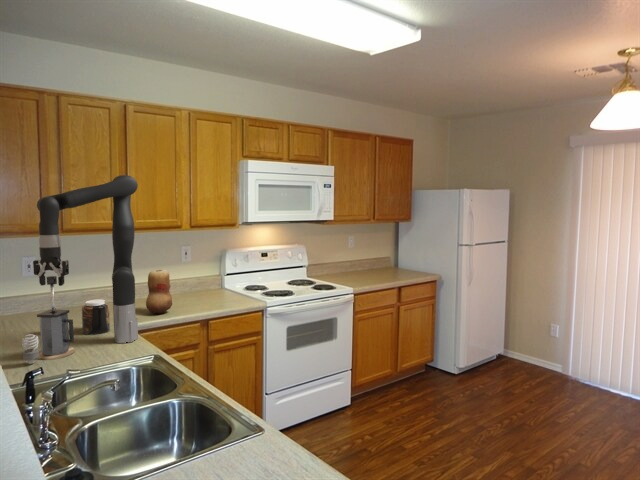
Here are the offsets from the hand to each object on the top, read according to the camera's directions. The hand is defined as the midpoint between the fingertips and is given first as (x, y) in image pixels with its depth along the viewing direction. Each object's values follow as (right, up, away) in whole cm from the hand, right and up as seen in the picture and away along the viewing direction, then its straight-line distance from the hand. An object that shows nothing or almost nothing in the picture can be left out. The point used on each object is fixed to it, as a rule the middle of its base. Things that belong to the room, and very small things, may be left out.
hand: (52, 285), depth 188 cm
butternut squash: (+20, -23, +69) cm, 76 cm away
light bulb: (-3, -30, -9) cm, 32 cm away
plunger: (0, -16, +2) cm, 16 cm away
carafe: (+1, -28, +3) cm, 28 cm away
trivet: (0, -29, +3) cm, 29 cm away
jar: (+1, -26, +35) cm, 44 cm away
